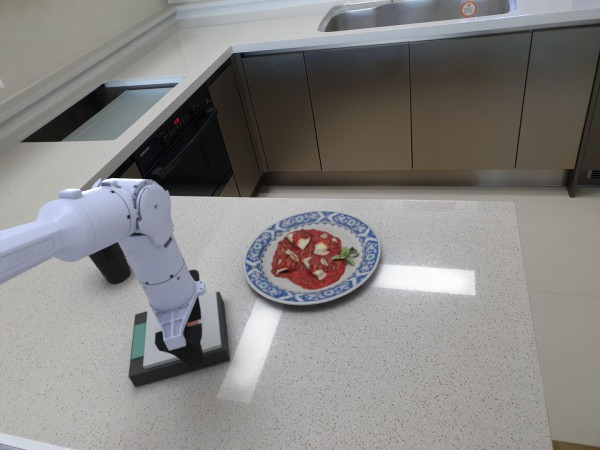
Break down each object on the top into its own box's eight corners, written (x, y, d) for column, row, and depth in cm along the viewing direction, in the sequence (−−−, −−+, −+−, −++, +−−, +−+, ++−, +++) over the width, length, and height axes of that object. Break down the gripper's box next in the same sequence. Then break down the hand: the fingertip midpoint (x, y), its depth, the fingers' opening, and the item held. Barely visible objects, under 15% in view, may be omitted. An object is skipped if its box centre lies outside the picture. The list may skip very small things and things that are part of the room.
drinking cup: (143, 261, 95) (103, 180, 83) (128, 288, 89) (82, 205, 77) (110, 263, 97) (66, 183, 85) (93, 289, 91) (42, 208, 79)
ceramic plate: (219, 294, 84) (215, 282, 82) (283, 211, 101) (281, 200, 99) (351, 329, 73) (350, 316, 71) (398, 229, 90) (397, 217, 88)
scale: (135, 387, 71) (126, 373, 69) (140, 324, 81) (133, 311, 79) (230, 360, 72) (224, 346, 70) (223, 302, 82) (218, 288, 80)
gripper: (195, 301, 49) (228, 376, 57) (192, 224, 61) (219, 295, 69) (129, 319, 48) (172, 392, 57) (139, 238, 60) (173, 308, 68)
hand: (195, 340), depth 63 cm, fingers open, 7 cm apart
